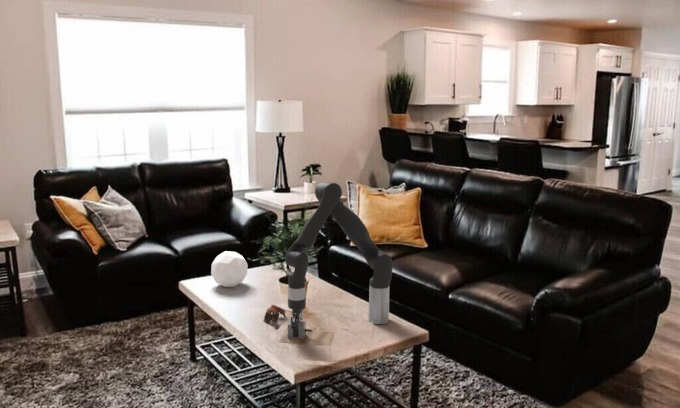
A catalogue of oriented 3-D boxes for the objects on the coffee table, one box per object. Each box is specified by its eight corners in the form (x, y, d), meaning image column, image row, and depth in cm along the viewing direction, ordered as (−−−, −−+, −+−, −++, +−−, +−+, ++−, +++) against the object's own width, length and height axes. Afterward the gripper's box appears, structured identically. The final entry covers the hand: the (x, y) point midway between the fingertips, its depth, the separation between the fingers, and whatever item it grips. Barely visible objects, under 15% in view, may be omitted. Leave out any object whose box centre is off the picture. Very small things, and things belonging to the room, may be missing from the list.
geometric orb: (239, 298, 313) (252, 275, 301) (203, 288, 307) (215, 265, 295) (242, 272, 327) (254, 249, 316) (208, 262, 321) (219, 239, 309)
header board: (334, 335, 253) (334, 324, 252) (330, 349, 239) (330, 338, 238) (285, 331, 255) (285, 321, 254) (278, 345, 242) (278, 334, 241)
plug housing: (312, 335, 249) (312, 322, 247) (310, 339, 244) (310, 326, 243) (290, 333, 250) (289, 320, 249) (287, 337, 246) (287, 324, 244)
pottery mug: (261, 318, 271) (268, 302, 272) (279, 326, 272) (286, 310, 274) (263, 322, 259) (271, 305, 260) (283, 330, 261) (290, 313, 262)
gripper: (302, 303, 236) (302, 342, 240) (308, 291, 250) (308, 328, 254) (284, 302, 237) (284, 340, 241) (291, 290, 251) (291, 326, 255)
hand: (296, 334), depth 247 cm, fingers closed on plug housing, 4 cm apart
